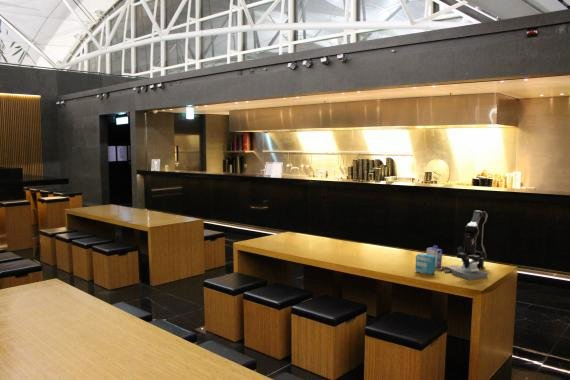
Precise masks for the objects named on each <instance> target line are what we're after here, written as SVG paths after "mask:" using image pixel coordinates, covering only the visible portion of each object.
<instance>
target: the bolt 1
mask: <svg viewBox="0 0 570 380" xmlns="http://www.w3.org/2000/svg"><path fill="white" fill-rule="evenodd" d="M445 270H446V269H445V266H444V265H441V267H439V269H438V271H439V272H441V271H445Z"/></svg>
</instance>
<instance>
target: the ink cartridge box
mask: <svg viewBox="0 0 570 380" xmlns="http://www.w3.org/2000/svg"><path fill="white" fill-rule="evenodd" d="M426 255H433V256H435V258H436V260H435V268H441V267H442V261H443V249H441V248H439V247H438V245H435V244H434V245H433V246H432V247H427V248H426Z"/></svg>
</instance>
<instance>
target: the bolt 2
mask: <svg viewBox="0 0 570 380" xmlns="http://www.w3.org/2000/svg"><path fill="white" fill-rule="evenodd" d="M452 270H453V269H450V270H446V269H445V270H443V271H444V273H445V274H447V273H452Z"/></svg>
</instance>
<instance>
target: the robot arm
mask: <svg viewBox="0 0 570 380" xmlns="http://www.w3.org/2000/svg"><path fill="white" fill-rule="evenodd" d="M487 219H488V213H487V212H486V211H481V210H474V211H473V214H472V218H471V219H470V222H469V223H468V222H467V225H466V226H465V228H464V232H463V237H465V238H464V239H463V241H462V245H463V246H464V247H462V246H457V253H456V258H458V259H461V261H462V260H463V262H464V265H465V268H467V267H468V263H469V259H470V258H469V257H471V259H472V260H475V261H478V262H479V264H477V268H479V269H486V267H485V266H484V264H485V263H484V262H485V261H486V260H487V253H486V250H485V246H484V245H483V241H484V239H483V238H484V224H486V222H487ZM463 262H462V263H463Z"/></svg>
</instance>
